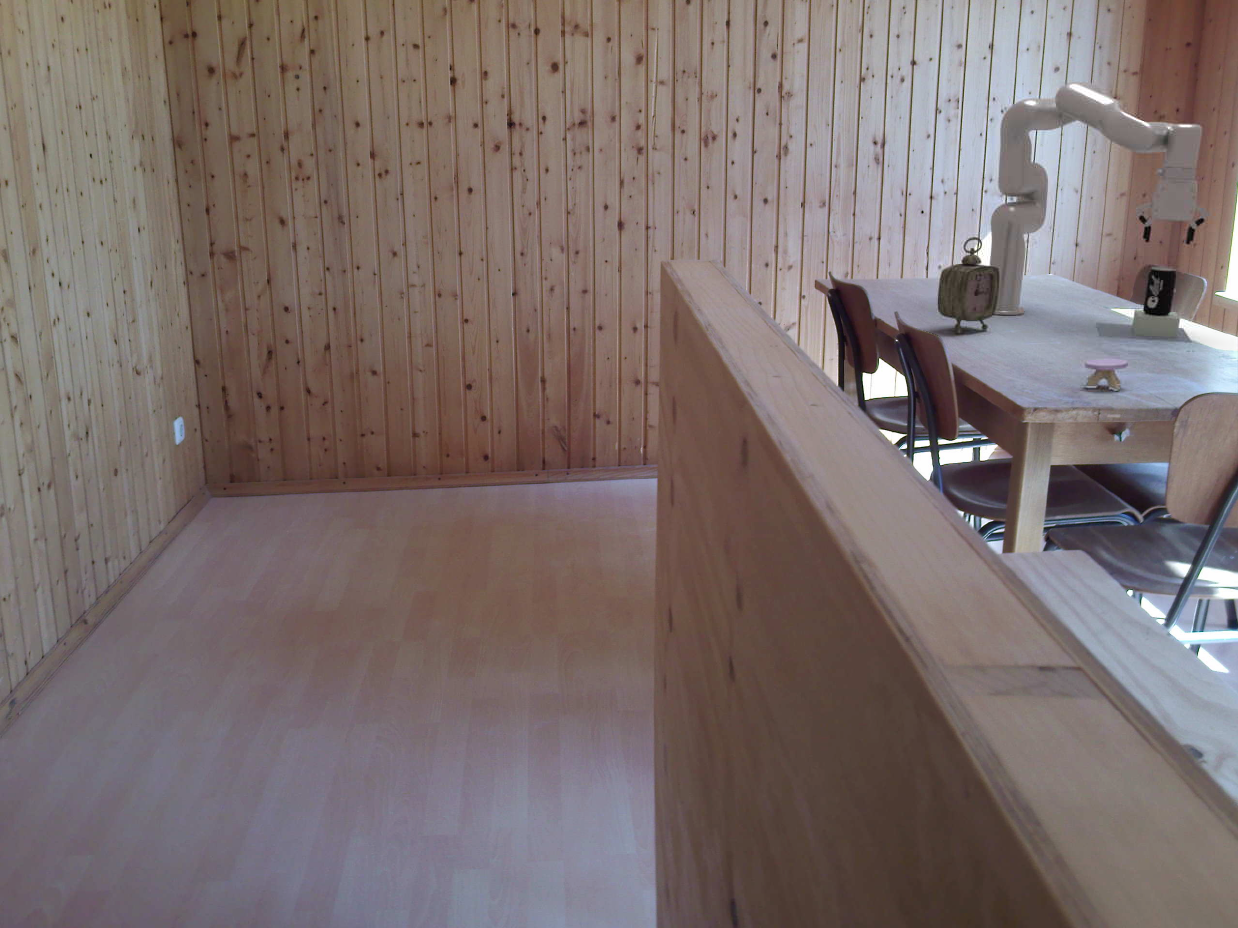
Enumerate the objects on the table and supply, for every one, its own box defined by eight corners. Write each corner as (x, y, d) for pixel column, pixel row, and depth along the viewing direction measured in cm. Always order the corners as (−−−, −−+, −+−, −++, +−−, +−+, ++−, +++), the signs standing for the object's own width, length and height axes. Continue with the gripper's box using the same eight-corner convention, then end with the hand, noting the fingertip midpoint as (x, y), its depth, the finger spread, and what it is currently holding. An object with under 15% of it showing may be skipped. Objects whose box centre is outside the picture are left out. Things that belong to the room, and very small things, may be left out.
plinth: (1135, 335, 294) (1137, 316, 293) (1132, 328, 303) (1134, 309, 302) (1177, 337, 291) (1180, 318, 290) (1172, 330, 300) (1175, 312, 299)
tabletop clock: (958, 336, 296) (967, 240, 289) (931, 330, 304) (940, 237, 296) (994, 330, 304) (1004, 237, 296) (967, 325, 311) (977, 234, 304)
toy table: (1112, 381, 250) (1116, 356, 248) (1136, 391, 241) (1140, 365, 239) (1071, 383, 248) (1074, 357, 247) (1093, 393, 240) (1097, 367, 238)
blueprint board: (1098, 339, 293) (1099, 336, 293) (1094, 326, 311) (1095, 322, 311) (1191, 346, 286) (1192, 342, 286) (1182, 331, 304) (1182, 328, 304)
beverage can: (1172, 316, 292) (1180, 270, 289) (1145, 315, 294) (1152, 269, 290) (1166, 312, 298) (1173, 266, 295) (1140, 311, 300) (1147, 266, 296)
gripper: (1142, 174, 284) (1131, 243, 290) (1218, 177, 279) (1206, 246, 284) (1140, 172, 291) (1129, 239, 296) (1214, 175, 286) (1202, 243, 291)
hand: (1167, 243), depth 290 cm, fingers open, 9 cm apart
